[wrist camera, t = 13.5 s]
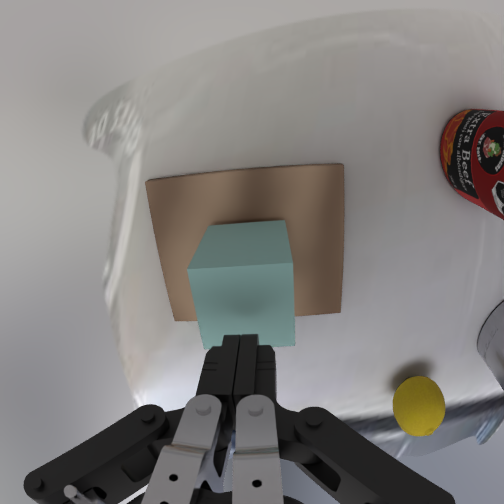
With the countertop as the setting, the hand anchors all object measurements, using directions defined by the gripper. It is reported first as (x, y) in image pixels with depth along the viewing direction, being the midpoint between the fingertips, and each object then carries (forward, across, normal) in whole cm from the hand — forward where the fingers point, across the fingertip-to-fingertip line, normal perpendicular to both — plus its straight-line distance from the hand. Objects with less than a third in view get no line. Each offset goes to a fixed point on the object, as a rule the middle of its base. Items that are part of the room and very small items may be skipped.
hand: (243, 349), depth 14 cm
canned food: (+12, -19, -7) cm, 23 cm away
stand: (+11, 0, 0) cm, 11 cm away
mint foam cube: (+10, 0, 0) cm, 10 cm away
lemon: (+12, -16, +17) cm, 26 cm away
